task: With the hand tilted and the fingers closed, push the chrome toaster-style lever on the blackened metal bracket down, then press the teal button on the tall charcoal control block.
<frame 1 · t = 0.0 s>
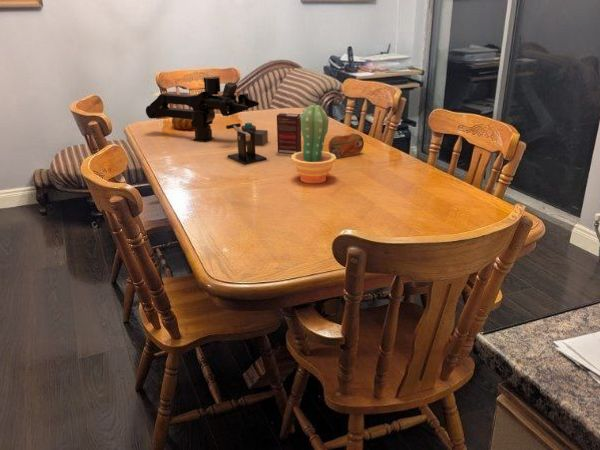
hand: (253, 105, 214), 17 cm above the table, tool horizontal, fingers open, 9 cm apart
tin: (345, 156, 207), on the table
potted cactus: (313, 179, 181), on the table
bracket: (247, 159, 202), on the table
control block: (254, 143, 223), on the table
lever: (240, 131, 201), point 10 cm above the table, hinge at 15.0°
button: (248, 125, 221), point 7 cm above the table, slide at 0.1 cm
supplement box: (289, 154, 209), on the table
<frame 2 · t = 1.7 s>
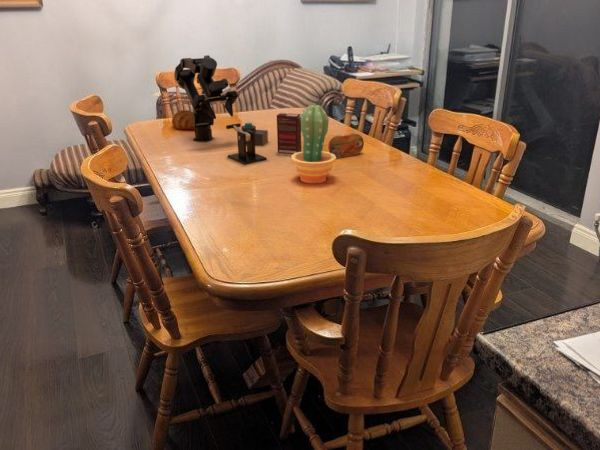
hand: (224, 117, 208), 14 cm above the table, tool tilted 45°, fingers open, 7 cm apart
nothing on the table moved.
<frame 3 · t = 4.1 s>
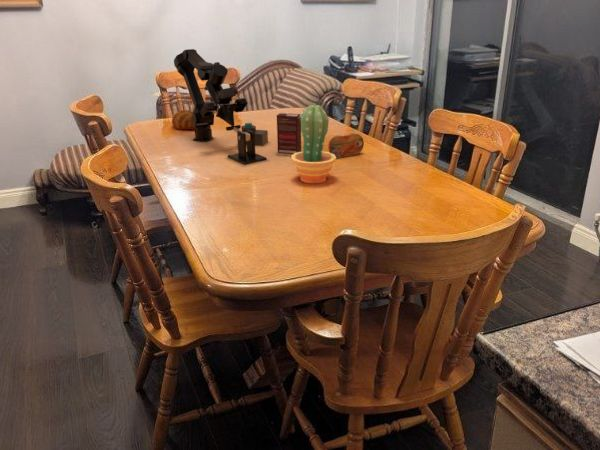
hand: (233, 125, 204), 12 cm above the table, tool tilted 45°, fingers closed, pressing on lever
lever: (240, 132, 201), point 10 cm above the table, hinge at 10.7°, touching gripper
everything else where it was.
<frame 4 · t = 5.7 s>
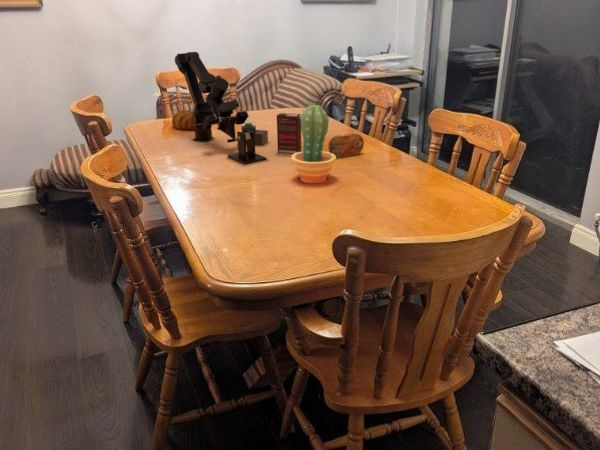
hand: (234, 138, 206), 7 cm above the table, tool tilted 45°, fingers closed, pressing on lever
lever: (240, 138, 202), point 8 cm above the table, hinge at -20.1°, touching gripper
everything else where it was.
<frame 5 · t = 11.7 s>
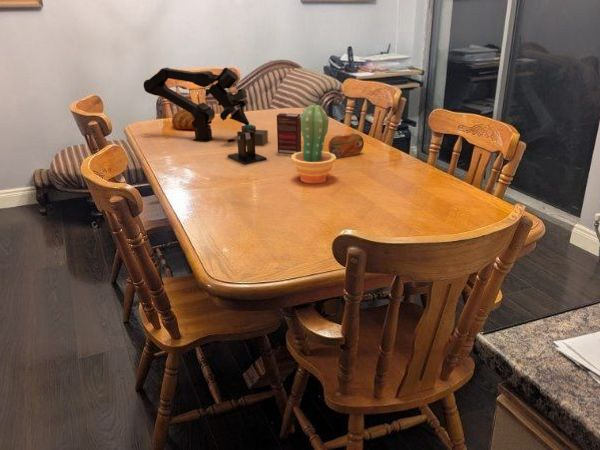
hand: (248, 124, 221), 8 cm above the table, tool tilted 45°, fingers closed, pressing on button
lever: (240, 138, 202), point 8 cm above the table, hinge at -20.1°
button: (248, 127, 222), point 7 cm above the table, slide at -0.6 cm, touching gripper
everything else where it was.
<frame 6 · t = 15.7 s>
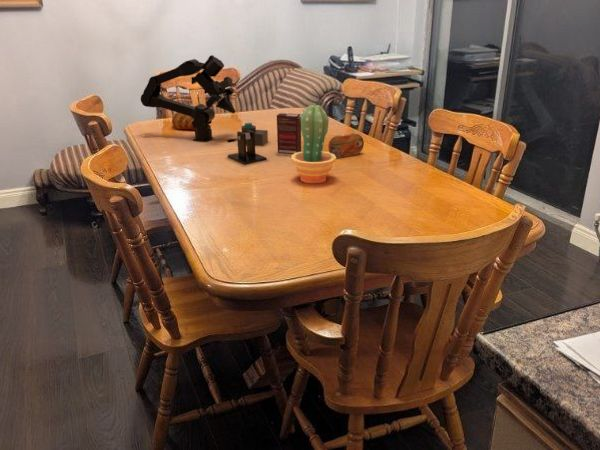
hand: (234, 112, 221), 13 cm above the table, tool tilted 45°, fingers closed
button: (248, 125, 221), point 7 cm above the table, slide at 0.1 cm
everything else where it was.
at the end: lever at -20° (first picture: +15°); button pushed in 1.3 cm at the most during the clip, back to where it started at the end; button slide at 0.1 cm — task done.
